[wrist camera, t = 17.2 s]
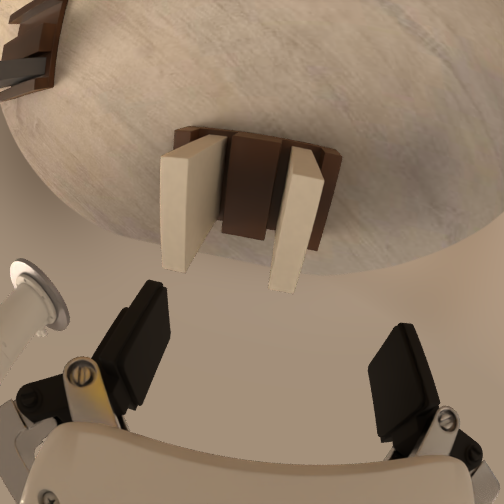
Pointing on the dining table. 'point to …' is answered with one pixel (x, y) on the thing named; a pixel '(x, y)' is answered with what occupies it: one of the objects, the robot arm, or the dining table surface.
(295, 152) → the white book
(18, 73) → the grey book
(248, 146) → the rack
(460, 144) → the dining table surface
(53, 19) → the rack
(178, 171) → the white book
